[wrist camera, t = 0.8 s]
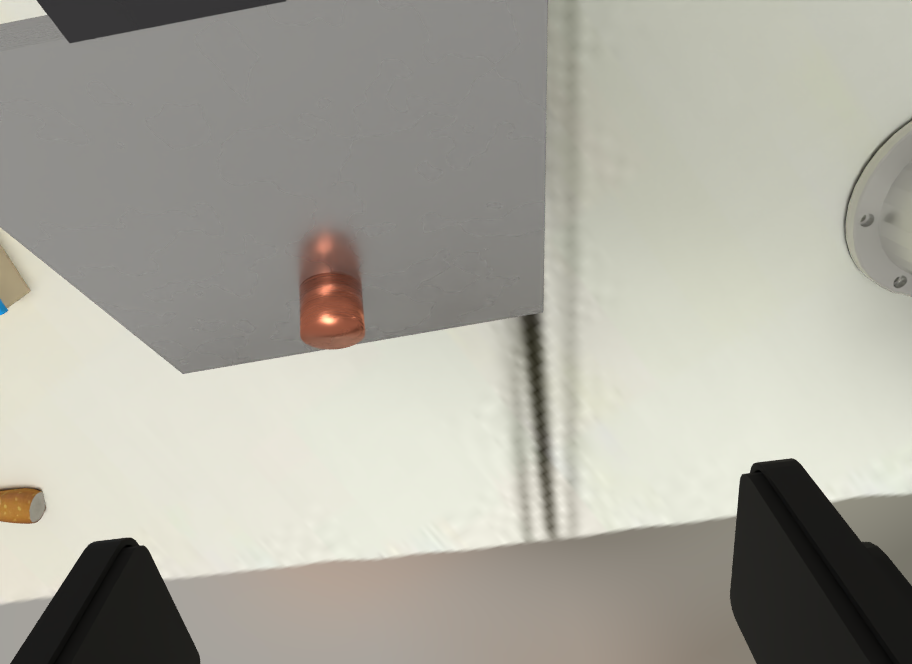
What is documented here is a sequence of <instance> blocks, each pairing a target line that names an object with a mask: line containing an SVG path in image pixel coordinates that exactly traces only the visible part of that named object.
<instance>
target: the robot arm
mask: <svg viewBox="0 0 912 664" xmlns="http://www.w3.org/2000/svg"><path fill="white" fill-rule="evenodd" d="M846 241H847V244H848V248H849V252H850V255H851V257H852V259H853V260H854V262H855V264H856V266H857V267H858V269H859V270H860V271H861V272H862V273H863V274H864V275H865V276H866V277H867V278H869V279H870V280H872V281H873V282H875V283H876V284H878V285H879V286H881V287H883V288H885V289H887V290H889V291H891V292H894V293H897V294H902V295H907V296H912V121H911V122H909V123H908V124H907V125H905V126H904V127H903V128H901V129H900V130H899V131H897V132H896V133H895V134H894V135H893V136H892V137H891V138H890V139H889V140H888V141H887V142H886V143H885V144H884V145H883V146H882V147H881V148H880V149H879V150H878V151H877V153H876V154H875V155H874V157H873V158H872V159H871V161H870V162H869V163H868V165H867V166H866V167H865V169H864V171H863V173H862V175H861V176H860V178H859V180H858V182H857V184H856V185H855V188H854V191H853V194H852V196H851V199H850V202H849V205H848V211H847V217H846ZM735 532H736V533H735V543H734V555H733V566H732V578H731V589H730V599H731V606H732V610H733V613H734V616H735V619H736V621H737V623H738V626H739V628H740V630H741V632H742V634H743V636H744V638H745V640H746V642H747V644H748V646H749V648H750V650H751V653H752V655H753V657H754V659H755V661H756V663H757V664H912V586H911V585H910V583H909V582H908V581H907V580H906V578H905V577H904V576H903V575H902V573H901V572H900V571H899V570H898V569H897V567H896V566H895V565H894V564H893V562H892V561H891V560H890V559H889V557H888V556H887V555H886V554H885V553H884V552H883V551H882V550H881V549H880V548H879V547H878V546H876V545H874V544H872V543H871V542H861V541H860V540H859V538H858V537H857V536H856V534H855V533H854V532H853V531H852V529H851V528H850V527H849V526H848V524H847V523H846V522H845V520H844V519H843V518H842V517H841V515H840V514H839V513H838V511H837V510H836V509H835V508H834V506H833V505H832V504H831V502H830V501H829V500H828V499H827V497H826V496H825V495H824V493H823V492H822V491H821V490H820V488H819V487H818V486H817V485H816V483H815V482H814V481H813V479H812V478H811V477H810V476H809V474H808V473H807V472H806V470H805V469H804V468H803V467H802V465H801V464H800V463H799V462H798V461H797V460H795V459H792V458H791V459H783V460H775V461H766V462H758V463H754V464H753V465H752V467H751V471H750V473H748V474H742V476H741V478H740V485H739V497H738V508H737V520H736V531H735ZM10 664H200V656H199V653H198V651H197V649H196V647H195V645H194V643H193V641H192V639H191V637H190V634H189V633H188V631H187V629H186V626H185V624H184V622H183V620H182V618H181V616H180V614H179V612H178V610H177V608H176V606H175V604H174V602H173V600H172V597H171V595H170V593H169V591H168V589H167V587H166V585H165V583H164V581H163V579H162V577H161V575H160V573H159V571H158V569H157V567H156V565H155V563H154V560H153V558H152V556H151V554H150V552H149V550H148V549H147V548H146V547H145V546H139V544H138V543H137V542H136V540H134V539H133V538H121V539H112V540H104V541H96V542H93V543H91V544H89V545H88V546H87V547H86V549H85V550H84V551H83V553H82V554H81V556H80V557H79V559H78V560H77V562H76V564H75V565H74V567H73V568H72V570H71V571H70V573H69V574H68V576H67V577H66V579H65V580H64V582H63V583H62V585H61V587H60V588H59V590H58V591H57V593H56V594H55V596H54V597H53V599H52V601H51V602H50V603H49V605H48V607H47V608H46V610H45V611H44V613H43V614H42V616H41V617H40V619H39V620H38V622H37V623H36V625H35V627H34V628H33V630H32V631H31V633H30V634H29V636H28V637H27V639H26V641H25V642H24V643H23V645H22V646H21V648H20V650H19V651H18V653H17V654H16V656H15V657H14V659H13V660H12V662H11V663H10Z"/></svg>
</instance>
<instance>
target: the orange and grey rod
mask: <svg viewBox="0 0 912 664" xmlns="http://www.w3.org/2000/svg"><path fill="white" fill-rule="evenodd" d="M45 508H46V505H45V500H44V496H43V492H42V491H39V490H36V489H30V488H21V489H12V490H4V491H0V521H3V522H10V523H24V524H30V523H36V522H38V521H39V520H40V519H41V517H42V516H43V514H44V511H45Z"/></svg>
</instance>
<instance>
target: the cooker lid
mask: <svg viewBox="0 0 912 664" xmlns="http://www.w3.org/2000/svg"><path fill="white" fill-rule="evenodd" d="M37 1H38V3H39V4H40V5H41V7H42V8H43V9H44V11H45V12H46V13H47V15H45V16H40V17H35V18H30V19H25V20H20V21H15V22H9V23H4V24H0V227H1V228H2V229H3V230H5V231H6V232H7V233H8V234H9V235H11V236H12V237H13V238H14V239H16V240H17V241H18V242H19V243H21V244H22V245H23V246H24V247H26V248H27V249H28V250H29V251H31V252H32V253H33V254H34V255H36V256H37V257H38V258H39V259H41V260H42V261H43V262H44V263H46V264H47V265H48V266H49V267H51V268H52V269H53V270H54V271H56V272H57V273H58V274H59V275H61V276H62V277H63V278H64V279H65V280H67V281H68V282H69V283H70V284H72V285H73V286H74V287H75V288H77V289H78V290H79V291H80V292H82V293H83V294H84V295H85V296H87V297H88V298H89V299H90V300H92V301H93V302H94V303H95V304H97V305H98V306H99V307H100V308H102V309H103V310H104V311H105V312H107V313H108V314H109V315H110V316H112V317H113V318H114V319H115V320H117V321H118V322H119V323H120V324H121V325H123V326H124V327H125V328H126V329H128V330H129V331H130V332H131V333H133V334H134V335H135V336H136V337H138V338H139V339H140V340H141V341H143V342H144V343H145V344H146V345H148V346H149V347H150V348H151V349H153V350H154V351H155V352H156V353H158V354H159V355H160V356H161V357H163V358H164V359H165V360H166V361H168V362H169V363H170V364H171V365H173V366H174V367H175V368H176V369H177V370H179V371H180V372H181V373H182V374H185V373H191V372H197V371H203V370H209V369H215V368H220V367H226V366H232V365H238V364H244V363H250V362H255V361H261V360H267V359H273V358H279V357H285V356H290V355H296V354H302V353H308V352H314V351H320V350H325V349H341V348H346V347H350V346H352V345H355V344H360V343H366V342H372V341H378V340H384V339H390V338H395V337H401V336H407V335H413V334H419V333H425V332H430V331H436V330H442V329H448V328H454V327H460V326H465V325H471V324H477V323H483V322H489V321H494V320H500V319H506V318H512V317H518V316H524V315H529V314H535V313H541V312H543V302H544V231H545V160H546V90H547V19H548V0H37Z"/></svg>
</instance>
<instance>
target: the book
mask: <svg viewBox="0 0 912 664" xmlns="http://www.w3.org/2000/svg"><path fill="white" fill-rule="evenodd" d="M29 292H30V289H29V288H28V286H27V285H26V283H25V282H24V280H23V278H22V277H21V275H20V274H19V272H18V271H17V269H16V268H15V266H14V265H13V263H12V262H11V260H10V259H9V257H8V256H7V254H6V252H5V251H4V249H3V248H2V246H1V245H0V315H2V314H4V313H6V312H7V311H8V309H7V308H8V307H10V306H11V305H12V304H14V303H15V302H16V301H18V300H19V299H21V298H22V297H23V296H25V295H26V294H27V293H29Z"/></svg>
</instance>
